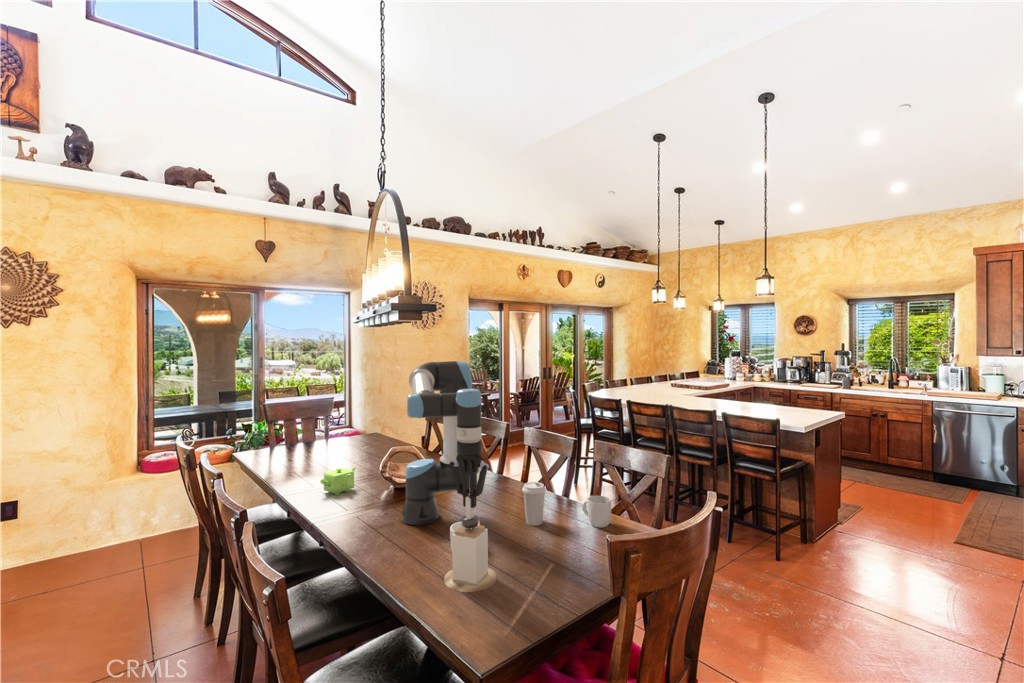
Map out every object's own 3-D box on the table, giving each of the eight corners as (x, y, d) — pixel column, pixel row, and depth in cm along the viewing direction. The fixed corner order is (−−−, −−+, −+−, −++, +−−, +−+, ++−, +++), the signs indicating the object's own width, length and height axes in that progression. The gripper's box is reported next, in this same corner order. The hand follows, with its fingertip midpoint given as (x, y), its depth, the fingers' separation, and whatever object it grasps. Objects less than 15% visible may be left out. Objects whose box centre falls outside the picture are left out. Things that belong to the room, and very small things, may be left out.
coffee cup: (544, 528, 181) (544, 489, 181) (520, 526, 183) (520, 488, 183) (547, 518, 190) (547, 481, 190) (524, 517, 192) (524, 480, 192)
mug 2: (615, 525, 183) (615, 499, 183) (601, 531, 177) (601, 505, 177) (590, 515, 193) (590, 491, 193) (576, 521, 187) (575, 496, 187)
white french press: (452, 581, 140) (451, 531, 140) (465, 569, 148) (464, 521, 148) (476, 586, 137) (475, 535, 137) (488, 573, 145) (487, 525, 144)
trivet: (433, 588, 138) (433, 585, 138) (460, 563, 153) (460, 561, 153) (482, 599, 132) (482, 596, 132) (504, 572, 147) (504, 570, 147)
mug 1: (468, 559, 156) (467, 535, 156) (443, 552, 161) (443, 528, 161) (491, 544, 167) (490, 521, 167) (467, 537, 173) (467, 516, 173)
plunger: (456, 571, 141) (456, 520, 141) (466, 562, 146) (465, 513, 146) (474, 574, 139) (474, 523, 138) (483, 565, 144) (483, 515, 144)
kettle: (357, 486, 235) (357, 463, 234) (353, 495, 221) (353, 471, 220) (326, 488, 232) (325, 465, 231) (320, 497, 218) (319, 473, 218)
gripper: (444, 441, 141) (445, 518, 141) (483, 444, 136) (483, 525, 136) (456, 436, 148) (457, 510, 148) (493, 439, 143) (494, 516, 143)
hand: (469, 517), depth 142 cm, fingers closed
